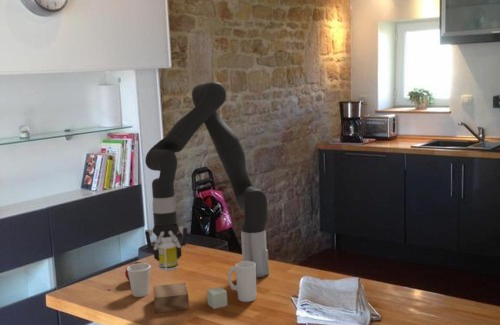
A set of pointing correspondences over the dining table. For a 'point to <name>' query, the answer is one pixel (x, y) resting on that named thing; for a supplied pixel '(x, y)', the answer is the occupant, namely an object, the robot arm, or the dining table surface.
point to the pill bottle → (167, 254)
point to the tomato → (127, 271)
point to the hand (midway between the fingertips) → (167, 258)
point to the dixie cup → (139, 279)
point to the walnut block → (171, 297)
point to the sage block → (217, 297)
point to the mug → (244, 280)
